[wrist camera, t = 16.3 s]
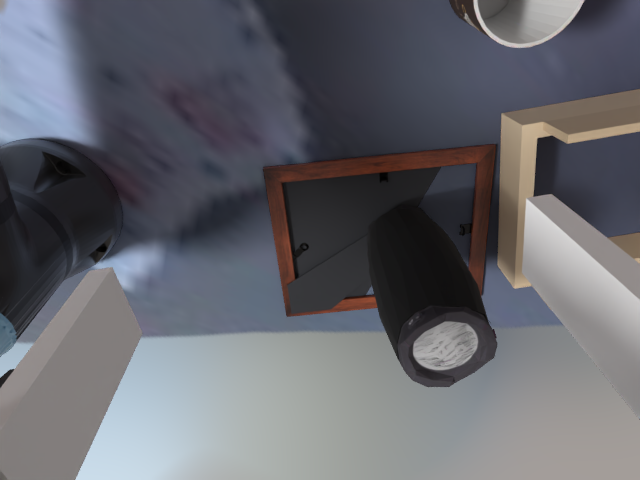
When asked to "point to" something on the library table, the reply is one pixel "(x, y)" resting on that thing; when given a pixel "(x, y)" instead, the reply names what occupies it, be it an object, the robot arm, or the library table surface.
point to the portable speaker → (427, 299)
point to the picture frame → (357, 220)
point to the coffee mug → (517, 19)
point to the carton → (520, 158)
